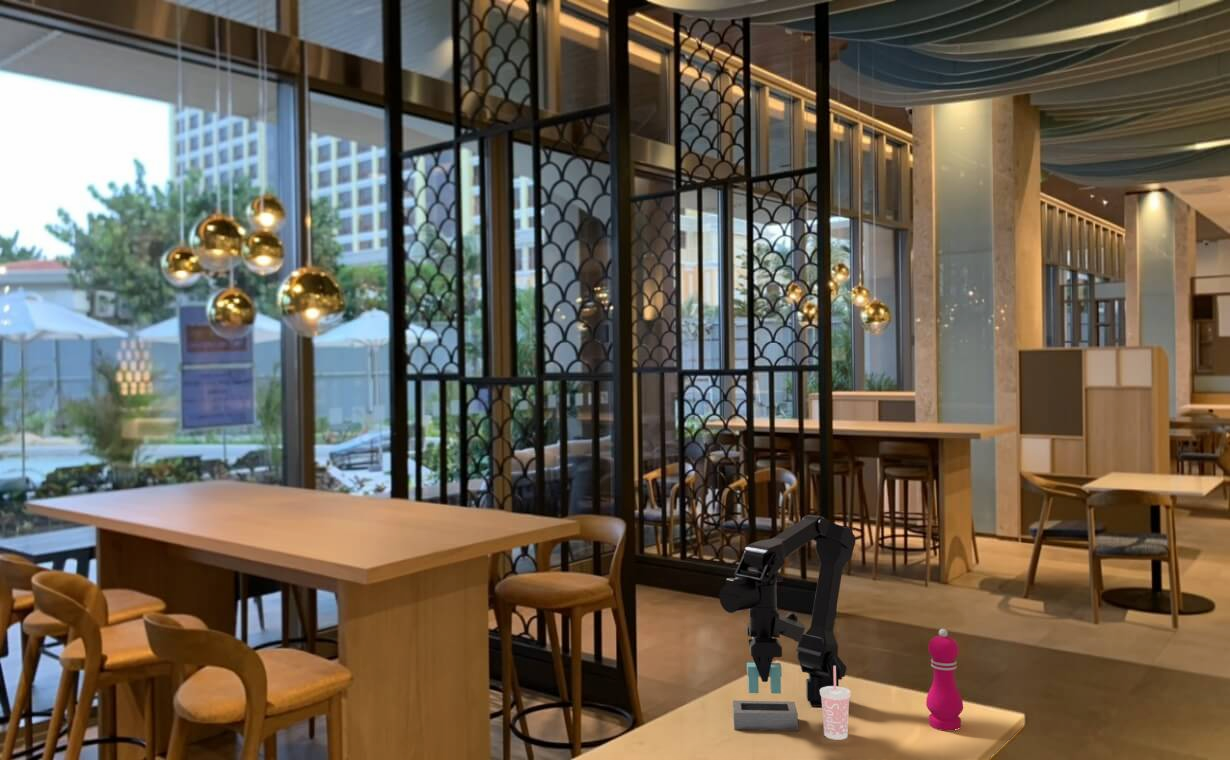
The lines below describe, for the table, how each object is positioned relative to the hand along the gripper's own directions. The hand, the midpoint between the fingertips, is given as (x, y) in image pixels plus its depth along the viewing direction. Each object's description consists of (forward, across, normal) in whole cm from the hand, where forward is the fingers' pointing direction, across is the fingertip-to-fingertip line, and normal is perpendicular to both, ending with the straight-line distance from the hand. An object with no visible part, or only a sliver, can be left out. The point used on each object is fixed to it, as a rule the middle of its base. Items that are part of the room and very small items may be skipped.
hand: (764, 679), depth 191 cm
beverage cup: (+10, -6, -14) cm, 18 cm away
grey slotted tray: (+9, 0, 0) cm, 9 cm away
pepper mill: (+10, +1, -37) cm, 38 cm away
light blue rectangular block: (+2, 0, 0) cm, 2 cm away
